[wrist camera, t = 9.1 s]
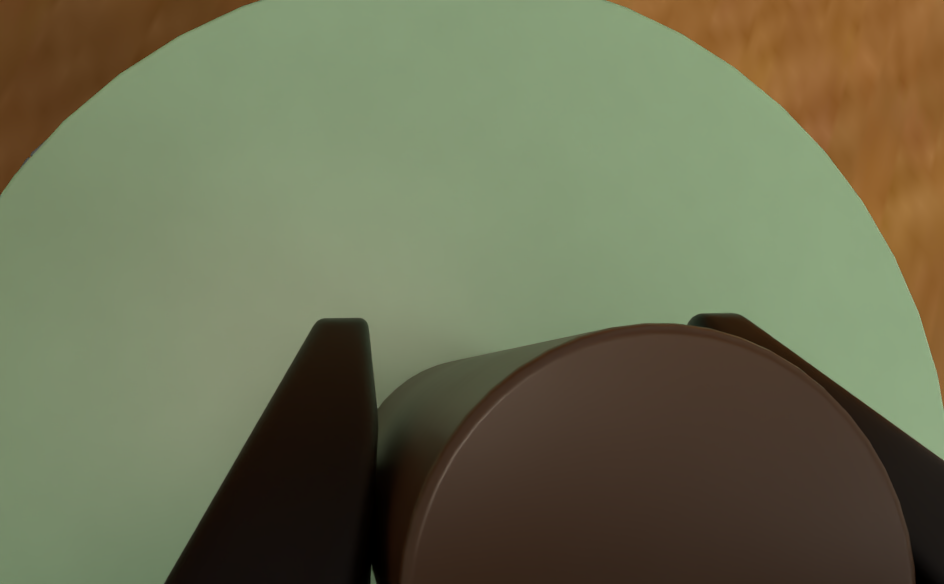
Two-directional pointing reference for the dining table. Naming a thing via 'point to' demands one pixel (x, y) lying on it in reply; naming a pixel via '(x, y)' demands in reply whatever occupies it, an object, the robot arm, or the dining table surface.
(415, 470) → the lid
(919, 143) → the dining table surface
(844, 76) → the dining table surface
